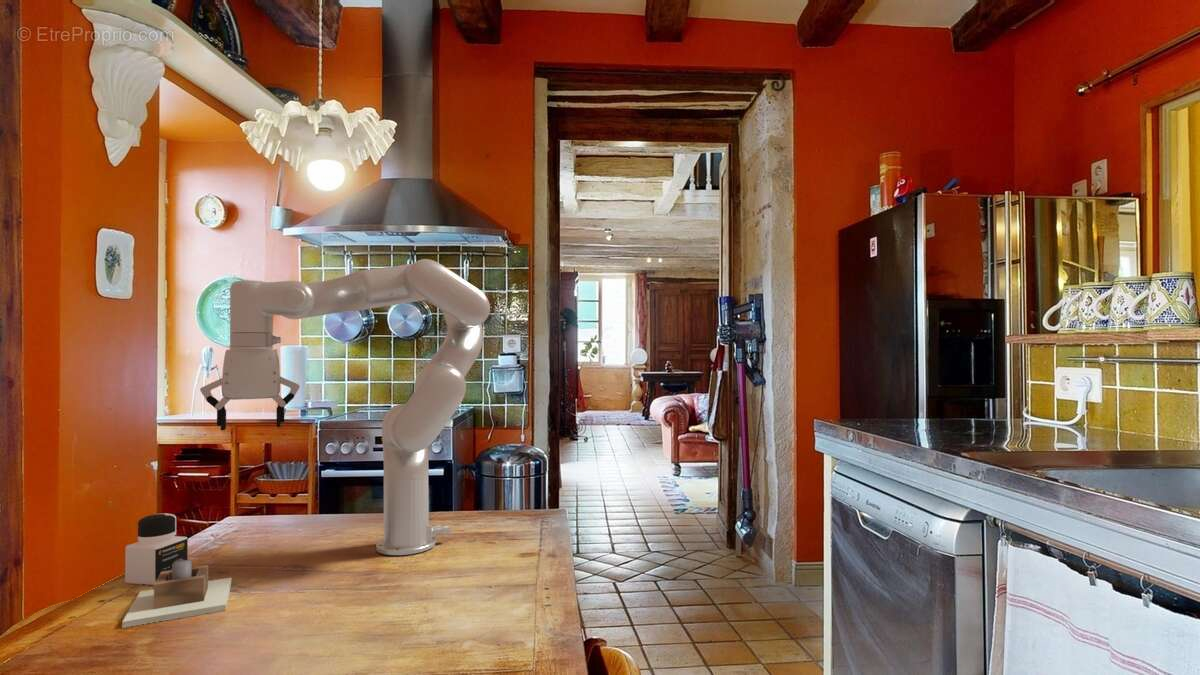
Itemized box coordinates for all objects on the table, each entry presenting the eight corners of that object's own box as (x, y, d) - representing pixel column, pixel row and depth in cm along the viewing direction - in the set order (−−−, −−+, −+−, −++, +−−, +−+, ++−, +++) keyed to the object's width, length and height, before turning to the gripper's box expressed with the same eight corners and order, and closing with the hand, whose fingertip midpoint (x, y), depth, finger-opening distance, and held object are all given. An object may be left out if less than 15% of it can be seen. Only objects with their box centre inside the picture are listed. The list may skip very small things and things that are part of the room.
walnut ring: (208, 587, 112) (208, 564, 112) (203, 600, 106) (203, 577, 106) (161, 594, 109) (161, 571, 109) (153, 609, 102) (153, 584, 102)
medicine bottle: (155, 586, 115) (156, 521, 115) (124, 583, 117) (124, 519, 117) (188, 572, 122) (188, 511, 122) (158, 570, 124) (158, 510, 124)
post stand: (231, 582, 116) (231, 545, 117) (225, 610, 104) (225, 568, 104) (140, 597, 110) (140, 557, 110) (122, 628, 98) (122, 583, 98)
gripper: (299, 342, 131) (299, 423, 131) (202, 342, 123) (202, 428, 123) (300, 342, 125) (299, 427, 124) (198, 342, 117) (198, 433, 116)
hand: (251, 427), depth 124 cm, fingers open, 9 cm apart
